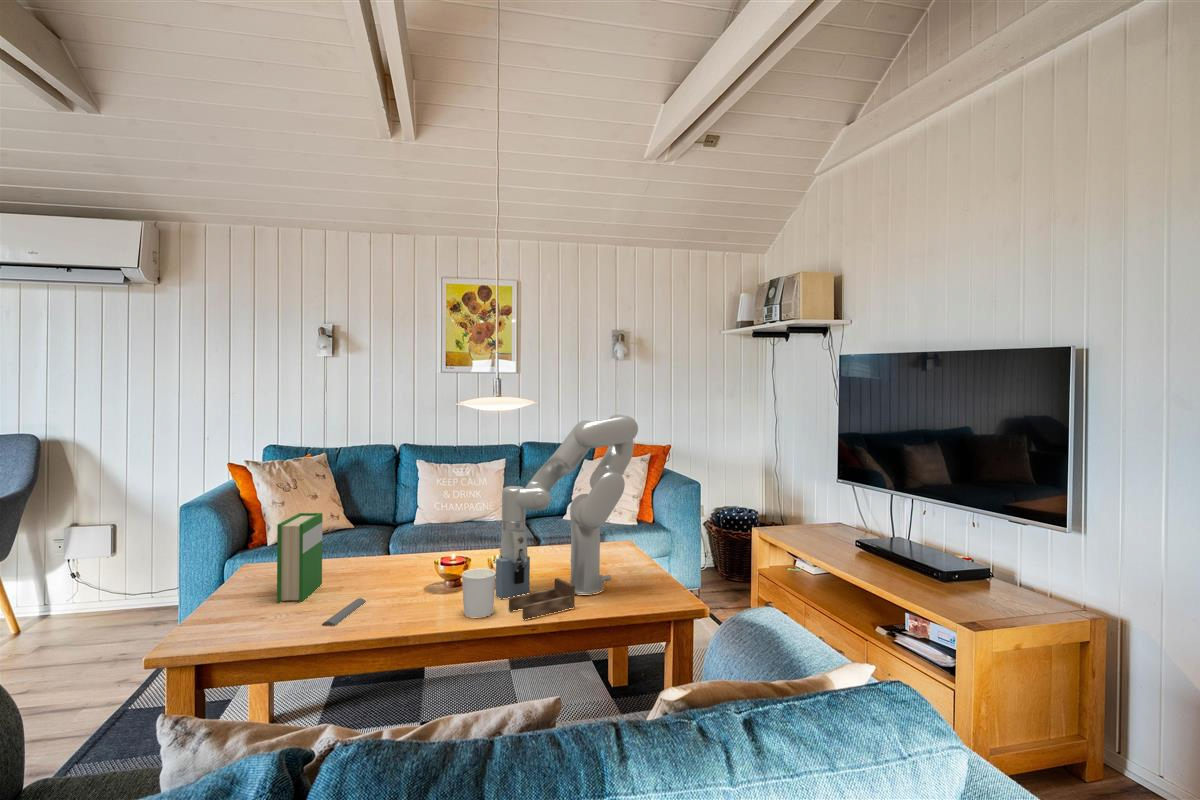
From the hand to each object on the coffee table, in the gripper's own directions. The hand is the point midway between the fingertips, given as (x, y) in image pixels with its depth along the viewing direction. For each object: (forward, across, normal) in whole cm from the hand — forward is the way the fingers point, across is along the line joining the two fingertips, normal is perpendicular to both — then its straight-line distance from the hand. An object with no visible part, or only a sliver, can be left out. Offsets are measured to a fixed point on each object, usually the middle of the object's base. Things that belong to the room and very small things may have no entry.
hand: (512, 579), depth 200 cm
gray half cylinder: (+6, +13, +48) cm, 50 cm away
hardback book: (+5, +39, +55) cm, 68 cm away
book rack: (+5, -17, 0) cm, 18 cm away
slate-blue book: (+5, 0, 0) cm, 5 cm away
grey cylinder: (+5, -9, +16) cm, 19 cm away
